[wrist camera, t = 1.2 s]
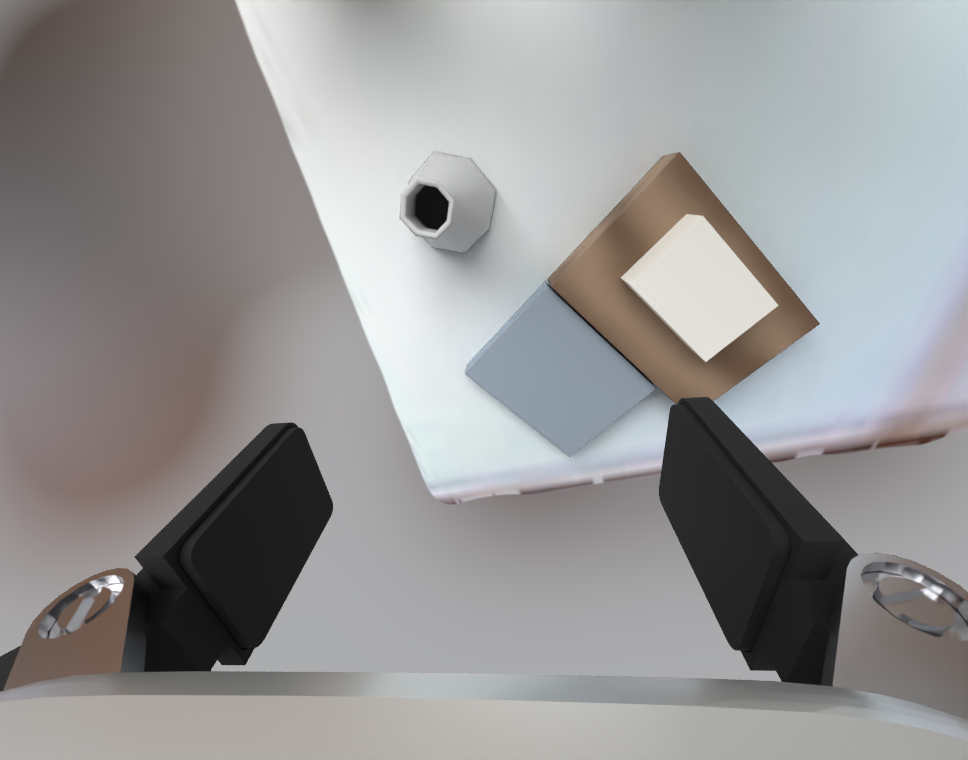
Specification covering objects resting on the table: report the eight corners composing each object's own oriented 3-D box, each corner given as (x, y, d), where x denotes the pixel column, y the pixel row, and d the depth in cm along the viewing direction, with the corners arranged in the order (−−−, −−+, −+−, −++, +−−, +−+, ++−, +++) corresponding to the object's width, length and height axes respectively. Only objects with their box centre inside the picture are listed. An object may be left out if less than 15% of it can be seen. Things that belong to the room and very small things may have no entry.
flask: (469, 267, 32) (455, 295, 23) (392, 224, 31) (346, 236, 22) (512, 184, 29) (514, 179, 20) (428, 132, 28) (391, 103, 19)
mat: (545, 281, 32) (547, 286, 30) (648, 378, 36) (656, 388, 34) (466, 364, 36) (464, 373, 34) (567, 445, 40) (569, 456, 38)
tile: (686, 214, 27) (702, 215, 24) (757, 296, 29) (778, 305, 27) (620, 277, 29) (630, 284, 27) (691, 350, 31) (705, 362, 29)
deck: (663, 156, 28) (679, 152, 25) (793, 313, 32) (819, 323, 30) (547, 278, 32) (551, 286, 29) (677, 401, 37) (690, 417, 34)
